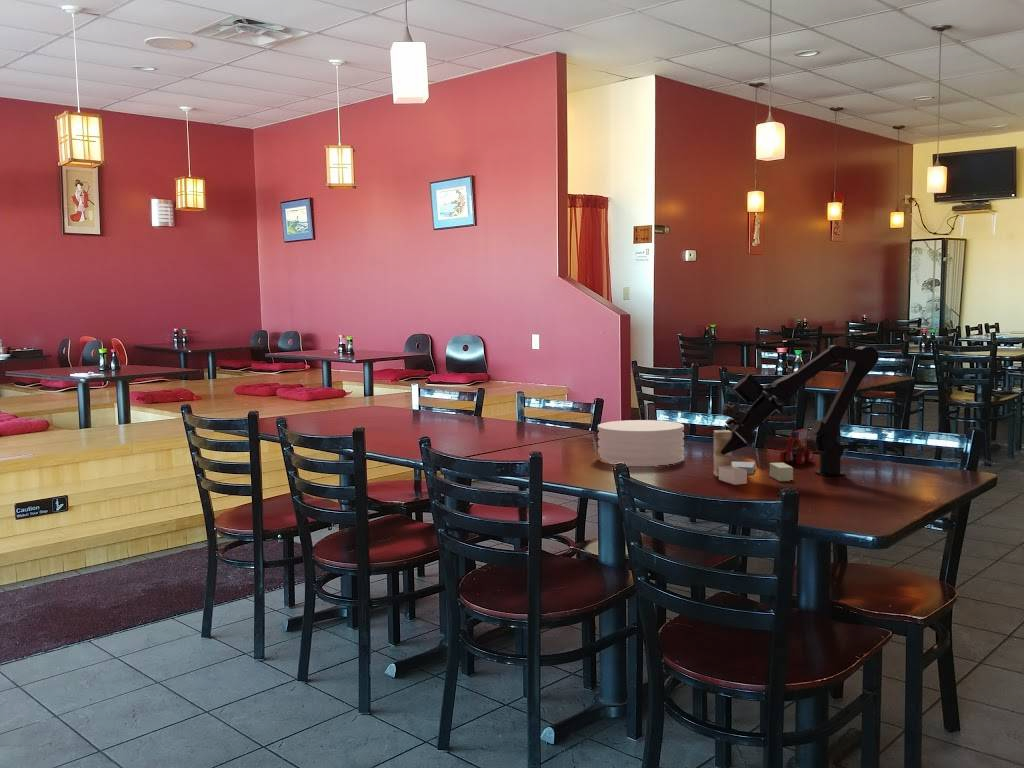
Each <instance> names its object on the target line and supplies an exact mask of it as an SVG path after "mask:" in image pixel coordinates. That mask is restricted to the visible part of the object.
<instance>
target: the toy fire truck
mask: <svg viewBox="0 0 1024 768" xmlns="http://www.w3.org/2000/svg"><path fill="white" fill-rule="evenodd" d="M808 435H809V434H808V429H807V428H802V429H798V430H797V429H796V430H793V431H791V432H790V437H788V440H787V445H786V449H783V450H781V452H780V454H779V455H780V456H779V460H780V463H785V464H787V463H788V462H793V463H795V462H796V464H797V465H799V464H803V465H804V464H805V463H808V462H810V463H812V461H813V458H814V453H813V450H811V449H807V447H808V445H807V444H808Z"/></svg>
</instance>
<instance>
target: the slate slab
mask: <svg viewBox="0 0 1024 768" xmlns="http://www.w3.org/2000/svg"><path fill="white" fill-rule="evenodd" d="M755 462H756V461H755ZM755 462H754V461H732V466H735V467H738V468H742V469H745V470H747V475H753V474H754V472H755V470H756V463H755Z"/></svg>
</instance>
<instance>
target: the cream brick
mask: <svg viewBox="0 0 1024 768" xmlns="http://www.w3.org/2000/svg"><path fill="white" fill-rule="evenodd" d="M747 475H748V474H747V470H745V469H742V468H738V467H735V466H719V476H718V480H719V481H722V482H725V483H727V484H731V485H743V484H744V485H745V484H748V476H747Z"/></svg>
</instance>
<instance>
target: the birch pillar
mask: <svg viewBox="0 0 1024 768" xmlns="http://www.w3.org/2000/svg"><path fill="white" fill-rule="evenodd" d="M730 438H731V431H729V430H725V429H722V430H721V429H719V430H717V429H715V430H713V475H714V476H715V477H719V466H732V462H733V461H732V460H733V459H732V457H733V456H732V454H733V453H732V452H733V451H732V452H729V453H727V454H724V455H722V454H721V451H722V449H723V448H724V446H725V445H726V444H727V442H728V441H729V440H730Z"/></svg>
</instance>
